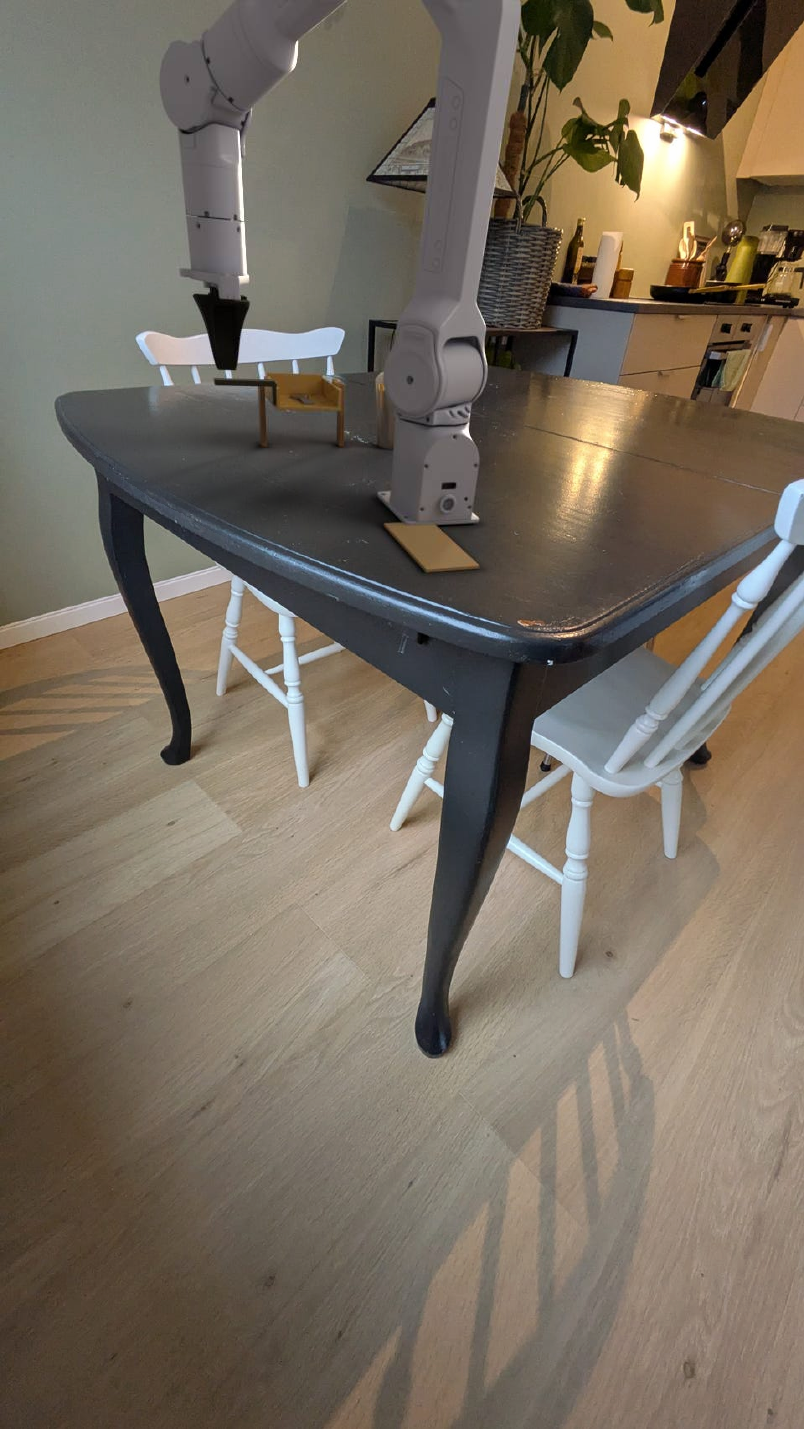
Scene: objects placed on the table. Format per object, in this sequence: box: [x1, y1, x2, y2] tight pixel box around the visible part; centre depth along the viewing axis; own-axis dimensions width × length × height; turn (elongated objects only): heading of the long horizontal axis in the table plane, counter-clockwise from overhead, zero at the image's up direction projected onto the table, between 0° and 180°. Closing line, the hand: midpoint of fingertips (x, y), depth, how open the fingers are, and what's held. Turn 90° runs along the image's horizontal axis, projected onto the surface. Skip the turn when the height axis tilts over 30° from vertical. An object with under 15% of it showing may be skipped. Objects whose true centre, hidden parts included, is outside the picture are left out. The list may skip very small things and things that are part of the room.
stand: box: [257, 381, 346, 448], centre depth 81 cm, size 2×11×8 cm, turn 110°
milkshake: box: [375, 371, 396, 450], centre depth 84 cm, size 4×5×10 cm
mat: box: [383, 521, 480, 573], centre depth 58 cm, size 11×5×1 cm, turn 20°
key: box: [290, 393, 314, 405], centre depth 80 cm, size 5×2×1 cm, turn 20°
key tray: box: [213, 372, 341, 412], centre depth 78 cm, size 9×16×3 cm, turn 110°
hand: (226, 369), depth 72 cm, fingers closed
